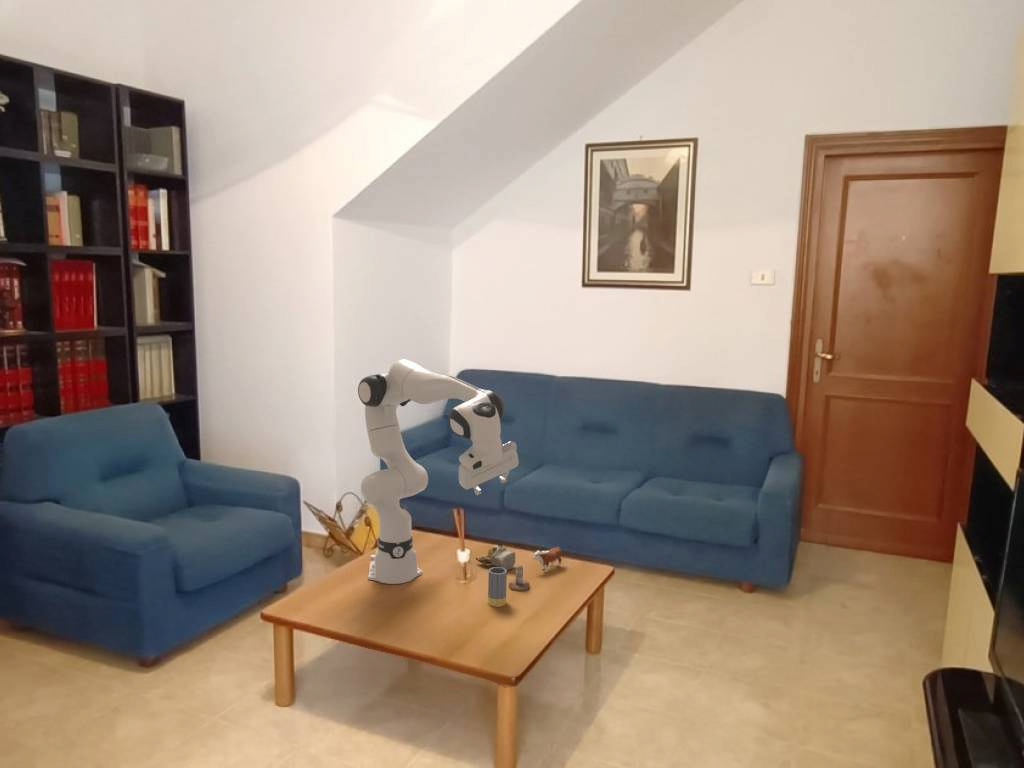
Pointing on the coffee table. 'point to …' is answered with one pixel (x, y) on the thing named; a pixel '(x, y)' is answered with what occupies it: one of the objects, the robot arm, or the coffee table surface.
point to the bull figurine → (548, 557)
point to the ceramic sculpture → (499, 557)
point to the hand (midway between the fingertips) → (490, 487)
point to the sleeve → (497, 586)
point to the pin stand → (519, 581)
